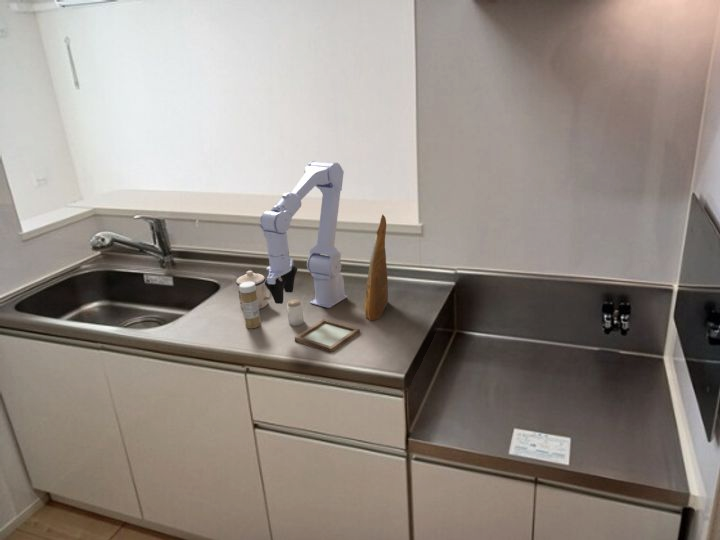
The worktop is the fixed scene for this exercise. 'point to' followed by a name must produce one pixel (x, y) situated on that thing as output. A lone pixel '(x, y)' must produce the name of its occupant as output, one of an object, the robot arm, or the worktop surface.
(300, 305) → the salt cellar
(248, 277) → the teacup with lid
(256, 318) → the sprinkles bottle
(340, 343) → the rest tray
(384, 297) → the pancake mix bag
